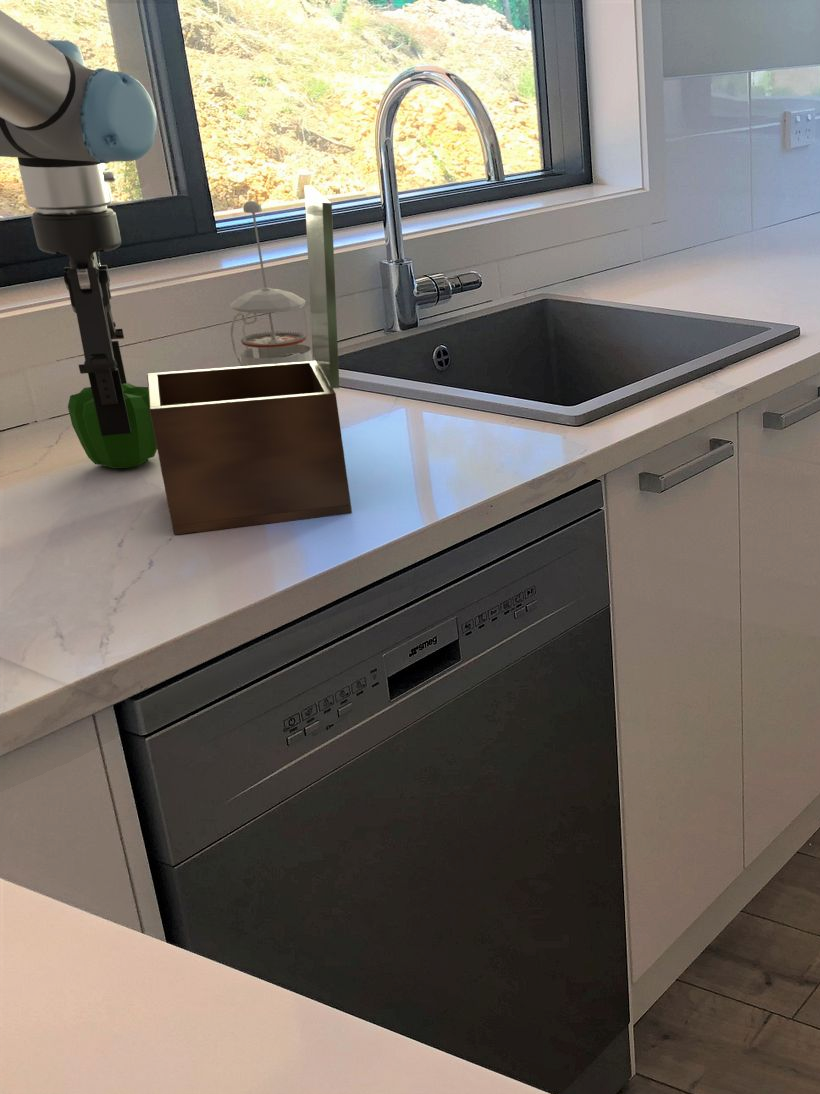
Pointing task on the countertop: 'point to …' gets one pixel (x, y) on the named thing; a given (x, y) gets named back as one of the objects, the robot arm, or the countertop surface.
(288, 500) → the chest
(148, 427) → the bell pepper
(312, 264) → the lid
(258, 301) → the french press
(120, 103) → the robot arm
